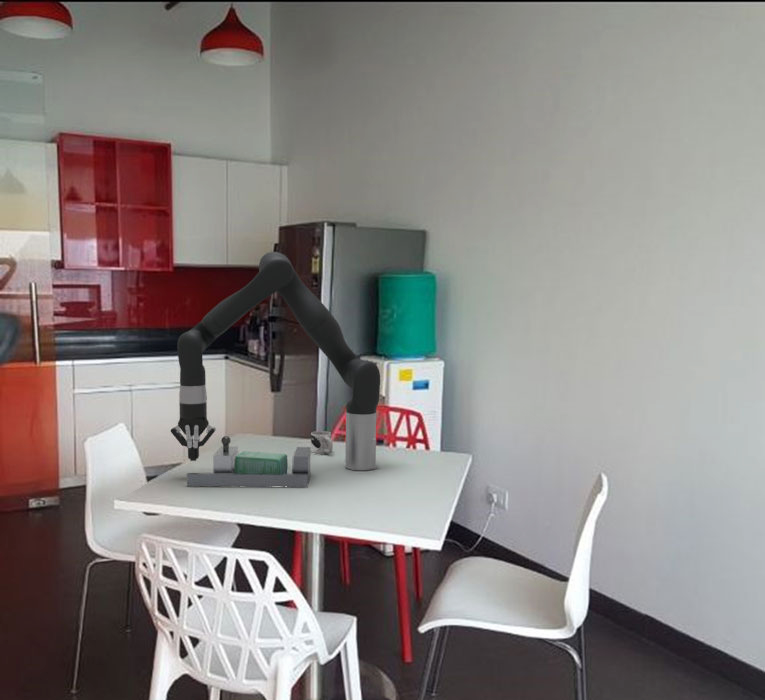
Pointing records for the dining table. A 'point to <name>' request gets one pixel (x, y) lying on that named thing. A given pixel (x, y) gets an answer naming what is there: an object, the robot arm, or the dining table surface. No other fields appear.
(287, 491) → the dining table surface
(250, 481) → the vise
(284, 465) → the box
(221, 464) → the sliding jaw
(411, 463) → the dining table surface
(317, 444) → the mug
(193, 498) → the dining table surface
